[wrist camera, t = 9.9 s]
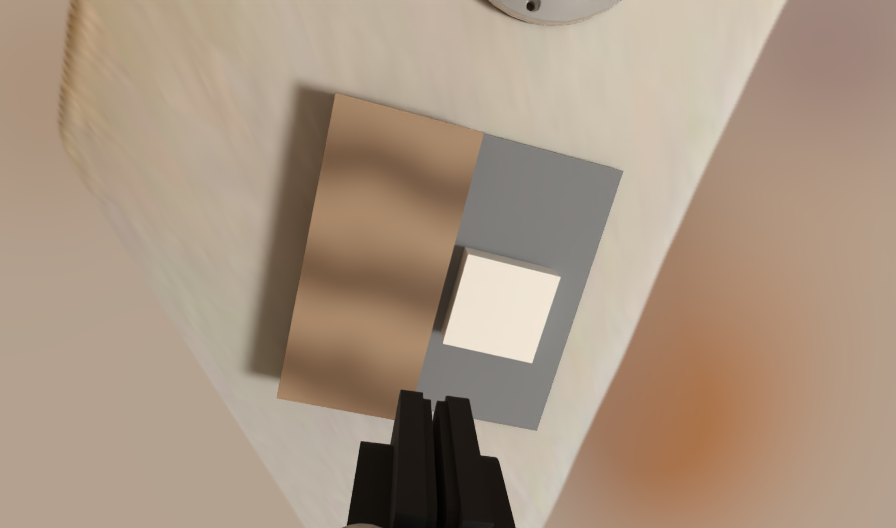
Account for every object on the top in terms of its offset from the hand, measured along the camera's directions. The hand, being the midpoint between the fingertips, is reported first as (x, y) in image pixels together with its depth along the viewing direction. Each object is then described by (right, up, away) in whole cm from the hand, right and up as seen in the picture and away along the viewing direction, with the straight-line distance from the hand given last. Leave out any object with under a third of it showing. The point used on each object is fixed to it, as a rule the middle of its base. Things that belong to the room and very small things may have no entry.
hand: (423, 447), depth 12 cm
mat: (+5, +3, +22) cm, 23 cm away
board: (-4, +5, +21) cm, 22 cm away
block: (+4, +2, +21) cm, 22 cm away
